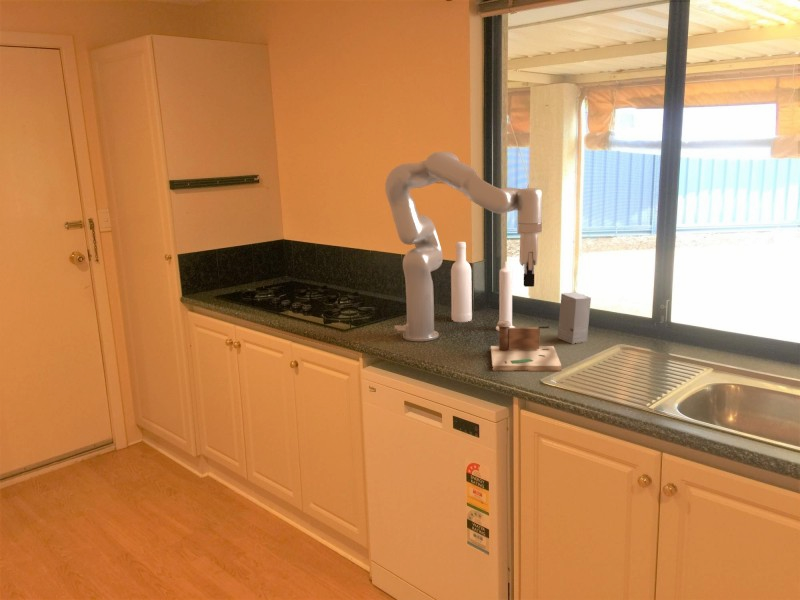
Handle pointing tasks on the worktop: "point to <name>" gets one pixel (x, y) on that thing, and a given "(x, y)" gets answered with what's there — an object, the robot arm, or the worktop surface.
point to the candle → (505, 295)
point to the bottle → (461, 286)
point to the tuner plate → (526, 359)
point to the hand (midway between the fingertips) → (528, 285)
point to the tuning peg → (518, 337)
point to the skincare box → (574, 317)
